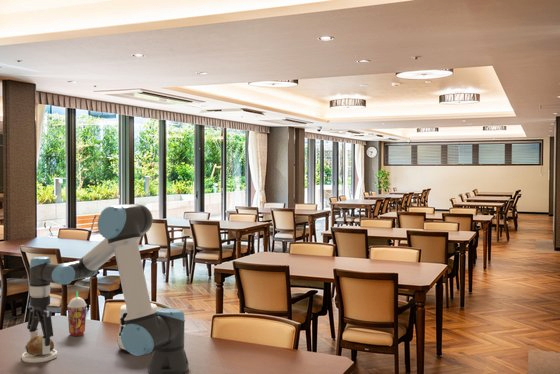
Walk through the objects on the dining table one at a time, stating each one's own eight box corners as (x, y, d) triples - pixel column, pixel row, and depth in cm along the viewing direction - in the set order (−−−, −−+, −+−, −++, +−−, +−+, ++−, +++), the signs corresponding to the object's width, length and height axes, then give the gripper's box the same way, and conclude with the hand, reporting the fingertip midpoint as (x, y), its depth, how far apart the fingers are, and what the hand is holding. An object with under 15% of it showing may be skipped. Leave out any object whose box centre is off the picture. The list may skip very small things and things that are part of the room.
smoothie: (66, 333, 258) (66, 290, 258) (85, 331, 262) (85, 288, 261) (67, 338, 251) (68, 293, 250) (87, 336, 254) (87, 292, 254)
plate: (63, 357, 225) (63, 353, 225) (31, 365, 215) (31, 361, 215) (47, 350, 234) (47, 346, 234) (16, 357, 224) (16, 353, 224)
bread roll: (38, 365, 219) (46, 347, 218) (17, 352, 221) (25, 334, 220) (54, 357, 228) (61, 340, 228) (33, 344, 230) (41, 327, 229)
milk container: (167, 347, 240) (168, 305, 239) (136, 357, 226) (136, 313, 225) (140, 339, 250) (140, 300, 249) (108, 349, 235) (108, 307, 235)
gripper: (62, 298, 219) (62, 354, 220) (36, 289, 234) (36, 342, 235) (44, 301, 213) (43, 359, 214) (18, 292, 229) (18, 346, 229)
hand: (39, 350), depth 224 cm, fingers closed on bread roll, 10 cm apart
